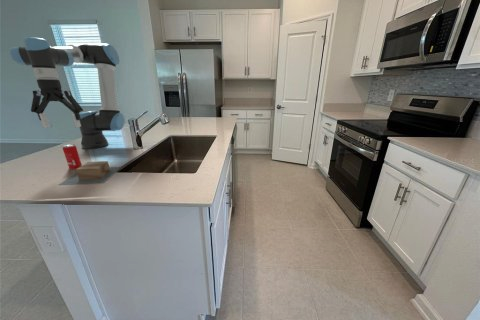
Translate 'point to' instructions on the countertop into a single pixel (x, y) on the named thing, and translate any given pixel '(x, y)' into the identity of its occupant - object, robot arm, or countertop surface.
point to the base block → (93, 170)
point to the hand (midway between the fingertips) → (63, 127)
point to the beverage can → (72, 156)
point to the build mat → (75, 179)
